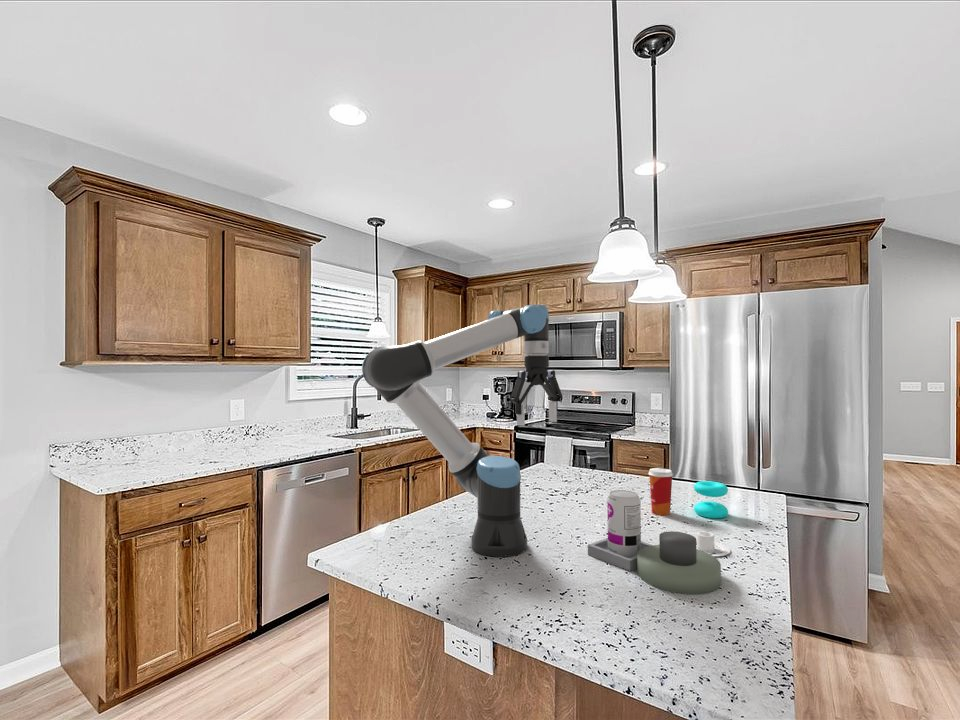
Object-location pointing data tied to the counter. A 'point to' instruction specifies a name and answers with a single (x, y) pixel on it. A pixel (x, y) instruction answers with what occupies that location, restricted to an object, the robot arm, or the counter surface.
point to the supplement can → (624, 523)
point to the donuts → (709, 507)
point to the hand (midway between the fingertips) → (537, 423)
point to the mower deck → (668, 563)
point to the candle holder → (709, 543)
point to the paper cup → (660, 490)
